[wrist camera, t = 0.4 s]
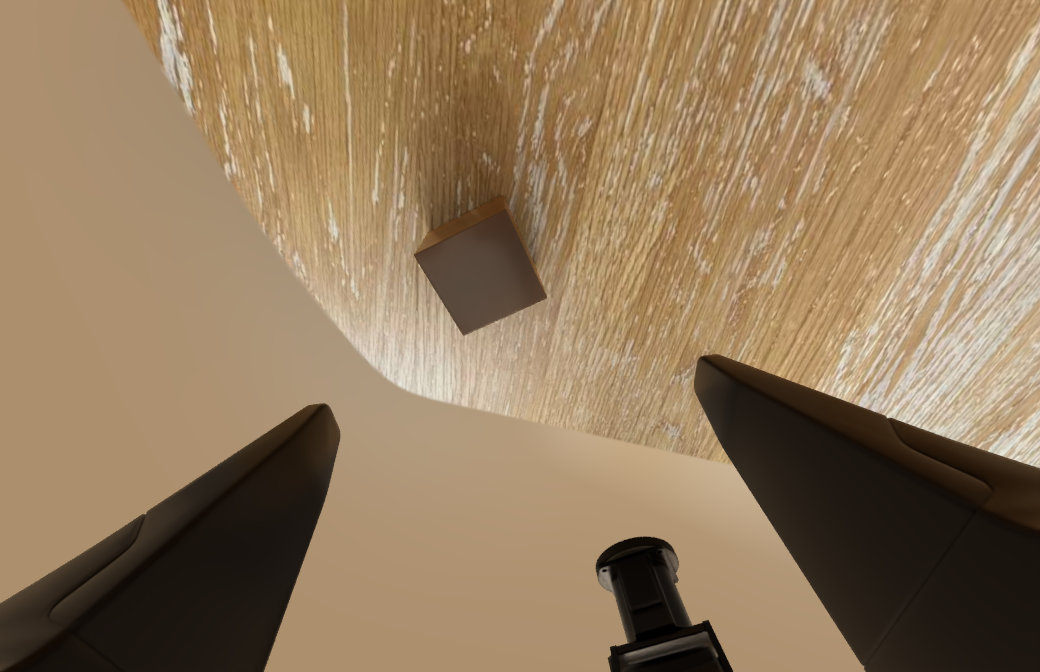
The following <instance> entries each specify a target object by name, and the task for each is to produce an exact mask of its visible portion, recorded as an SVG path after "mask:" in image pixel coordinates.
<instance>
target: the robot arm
mask: <svg viewBox="0 0 1040 672" xmlns="http://www.w3.org/2000/svg"><path fill="white" fill-rule="evenodd" d="M694 389H695V393H696V395H697V397H698V399H699V401H700V403H701V405H702V407H703V409H704V411H705V413H706V416H707V418H708V420H709V422H710V424H711V426H712V428H713V430H714V432H715V434H716V436H717V438H718V440H719V442H720V443H721V445H722V447H723V449H724V450H725V452H726V454H727V455H728V457H729V458H730V460H731V461H732V463H733V465H734V466H735V468H736V469H737V471H738V472H739V474H740V475H741V477H742V479H743V480H744V482H745V483H746V485H747V486H748V488H749V490H750V491H751V492H752V494H753V496H754V497H755V499H756V500H757V502H758V504H759V505H760V507H761V508H762V510H763V511H764V513H765V515H766V516H767V517H768V519H769V521H770V522H771V524H772V525H773V527H774V529H775V530H776V532H777V533H778V535H779V536H780V538H781V539H782V541H783V542H784V544H785V546H786V547H787V549H788V550H789V552H790V554H791V555H792V557H793V558H794V560H795V561H796V563H797V564H798V566H799V568H800V569H801V571H802V572H803V574H804V575H805V577H806V578H807V580H808V581H809V583H810V585H811V586H812V588H813V589H814V591H815V593H816V594H817V596H818V597H819V599H820V600H821V602H822V603H823V605H824V607H825V608H826V610H827V611H828V613H829V614H830V616H831V618H832V619H833V621H834V622H835V624H836V625H837V627H838V629H839V630H840V631H841V633H842V635H843V636H844V638H845V639H846V641H847V642H848V644H849V646H850V647H851V649H852V650H853V652H854V653H855V655H856V657H857V658H858V660H859V661H860V663H861V664H862V665H863V666H865V667H864V670H865V671H866V672H1040V468H1037V467H1034V466H1031V465H1028V464H1024V463H1021V462H1018V461H1015V460H1012V459H1009V458H1006V457H1003V456H1000V455H997V454H994V453H991V452H987V451H984V450H981V449H978V448H975V447H972V446H969V445H966V444H963V443H960V442H957V441H954V440H951V439H948V438H946V437H943V436H940V435H937V434H934V433H932V432H929V431H926V430H923V429H920V428H917V427H915V426H912V425H909V424H906V423H904V422H901V421H898V420H896V419H893V418H888V419H887V417H886V416H884V415H882V414H879V413H876V412H874V411H871V410H868V409H865V408H863V407H860V406H857V405H855V404H852V403H849V402H846V401H844V400H841V399H838V398H835V397H833V396H830V395H827V394H825V393H822V392H819V391H816V390H814V389H811V388H808V387H806V386H803V385H800V384H797V383H795V382H792V381H789V380H786V379H784V378H781V377H778V376H776V375H773V374H770V373H767V372H765V371H762V370H759V369H757V368H754V367H751V366H748V365H746V364H743V363H740V362H737V361H735V360H732V359H729V358H727V357H724V356H721V355H718V354H712V355H704V356H701V357H699V359H698V361H697V366H696V373H695V380H694ZM339 441H340V429H339V427H338V424H337V422H336V420H335V417H334V415H333V413H332V410H331V409H330V407H329V405H327V404H325V403H323V404H314V405H309V406H307V407H305V408H303V409H302V410H300V411H299V412H297V413H296V414H294V415H293V416H291V417H290V418H288V419H287V420H285V421H284V422H282V423H281V424H279V425H278V426H276V427H275V428H273V429H272V430H270V431H268V432H267V433H265V434H264V435H262V436H261V437H260V438H258V439H257V440H255V441H253V442H252V443H250V444H249V445H247V446H246V447H244V448H243V449H241V450H240V451H238V452H237V453H235V454H233V455H232V456H231V457H229V458H227V459H226V460H224V461H223V462H221V463H220V464H218V465H217V466H215V467H214V468H212V469H211V470H209V471H208V472H206V473H205V474H203V475H202V476H200V477H199V478H197V479H196V480H194V481H192V482H191V483H190V484H188V485H186V486H185V487H183V488H182V489H180V490H179V491H177V492H176V493H174V494H173V495H171V496H170V497H168V498H167V499H165V500H164V501H162V502H160V503H159V504H158V505H156V506H154V507H153V508H151V509H150V510H148V511H147V513H146V514H142V515H141V516H139V517H138V518H136V519H134V520H133V521H132V522H130V523H128V524H127V525H125V526H124V527H122V528H121V529H119V530H118V531H116V532H115V533H113V534H111V535H110V536H108V537H107V538H105V539H104V540H103V541H101V542H99V543H97V544H96V545H94V546H93V547H91V548H90V549H88V550H87V551H85V552H83V553H82V554H80V555H79V556H77V557H76V558H74V559H72V560H70V561H69V562H67V563H66V564H64V565H62V566H61V567H59V568H58V569H56V570H54V571H53V572H51V573H49V574H48V575H46V576H45V577H43V578H41V579H40V580H38V581H36V582H35V583H33V584H31V585H30V586H28V587H26V588H25V589H23V590H21V591H20V592H18V593H17V594H15V595H13V596H12V597H10V598H8V599H7V600H5V601H3V602H2V603H0V672H264V670H265V667H266V664H267V661H268V659H269V656H270V653H271V650H272V647H273V644H274V642H275V639H276V636H277V633H278V630H279V628H280V625H281V622H282V619H283V617H284V614H285V611H286V608H287V605H288V603H289V600H290V597H291V594H292V591H293V589H294V586H295V583H296V580H297V577H298V575H299V572H300V569H301V566H302V563H303V561H304V558H305V555H306V552H307V549H308V547H309V544H310V541H311V538H312V535H313V532H314V530H315V527H316V524H317V521H318V518H319V516H320V513H321V510H322V507H323V504H324V501H325V498H326V495H327V491H328V488H329V483H330V479H331V475H332V471H333V467H334V462H335V458H336V454H337V450H338V445H339ZM598 568H599V572H600V574H601V575H602V577H603V578H604V580H605V581H606V583H607V585H608V586H609V588H610V589H611V591H612V592H613V594H614V596H615V598H616V602H617V605H618V609H619V613H620V616H621V620H622V623H623V627H624V631H625V634H626V638H627V642H628V644H624V645H621V646H616V645H615V646H612V647H610V650H611V656H610V657H609V658H608V661H609V665H610V670H611V672H733V670H732V668H731V666H730V664H729V662H728V660H727V658H726V656H725V653H724V652H723V649H722V647H721V645H720V643H719V641H718V639H717V637H716V635H715V633H714V631H713V629H712V626H711V625H710V622H709V620H706V621H703V622H702V623H701V624H697V625H693V626H692V624H691V621H690V619H689V617H688V614H687V612H686V609H685V607H684V605H683V602H682V600H681V597H680V595H679V592H678V590H677V588H676V585H675V583H677V582H678V578H677V575H676V573H675V571H674V569H673V567H672V564H671V562H670V560H669V558H668V556H667V553H666V551H665V549H664V547H663V546H662V545H656V546H653V547H650V548H647V549H644V550H641V551H638V552H635V553H632V554H629V555H626V556H623V557H620V558H617V559H615V560H612V561H609V562H606V563H603V564H600V565H599V567H598Z"/></svg>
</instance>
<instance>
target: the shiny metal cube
mask: <svg viewBox="0 0 1040 672" xmlns="http://www.w3.org/2000/svg"><path fill="white" fill-rule="evenodd" d="M414 256H415V258H416V260H417V261H418V263H419V264H420V266H421V268H422V269H423V271H424V273H425V274H426V276H427V277H428V279H429V281H430V282H431V284H432V286H433V287H434V289H435V290H436V292H437V294H438V295H439V297H440V299H441V300H442V302H443V303H444V305H445V307H446V308H447V310H448V312H449V313H450V315H451V317H452V318H453V320H454V321H455V323H456V325H457V326H458V328H459V330H460V331H461V333H462V334H463V336H464V335H466V334H469V333H471V332H473V331H475V330H478V329H480V328H482V327H484V326H486V325H489V324H491V323H493V322H495V321H498V320H500V319H502V318H504V317H506V316H509V315H511V314H513V313H515V312H517V311H520V310H522V309H524V308H526V307H529V306H531V305H533V304H535V303H537V302H540V301H542V300H544V299H546V298H547V296H546V293H545V290H544V287H543V285H542V282H541V279H540V276H539V274H538V271H537V268H536V266H535V264H534V261H533V259H532V257H531V255H530V253H529V250H528V248H527V246H526V244H525V242H524V239H523V237H522V235H521V233H520V231H519V229H518V226H517V224H516V222H515V220H514V218H513V215H512V213H511V211H510V209H509V207H508V204H507V202H506V200H505V198H504V196H503V195H501V196H499V197H497V198H495V199H493V200H491V201H489V202H487V203H485V204H483V205H481V206H479V207H477V208H475V209H473V210H471V211H469V212H467V213H465V214H463V215H461V216H459V217H457V218H455V219H453V220H451V221H449V222H447V223H445V224H443V225H441V226H439V227H437V228H435V229H433V230H431V231H429V232H428V234H427V235H426V237H425V238H424V240H423V242H422V243H421V245H420V246H419V248H418V249H417V251H416V253H415V254H414Z"/></svg>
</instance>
